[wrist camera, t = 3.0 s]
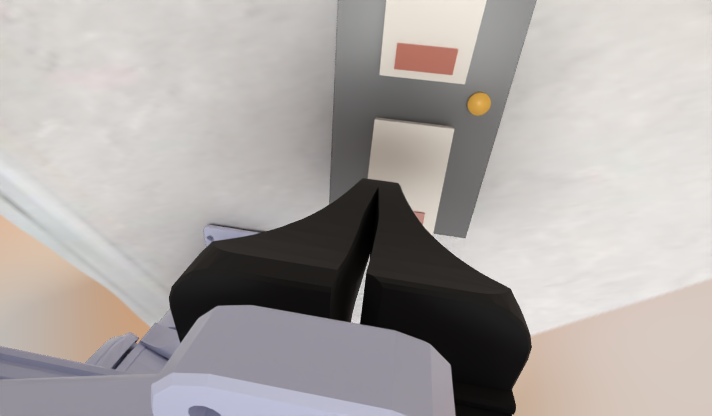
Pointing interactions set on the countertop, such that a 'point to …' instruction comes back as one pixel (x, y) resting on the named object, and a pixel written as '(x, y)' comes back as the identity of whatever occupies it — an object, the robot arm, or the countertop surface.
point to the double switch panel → (424, 101)
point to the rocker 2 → (412, 162)
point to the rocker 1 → (430, 38)
